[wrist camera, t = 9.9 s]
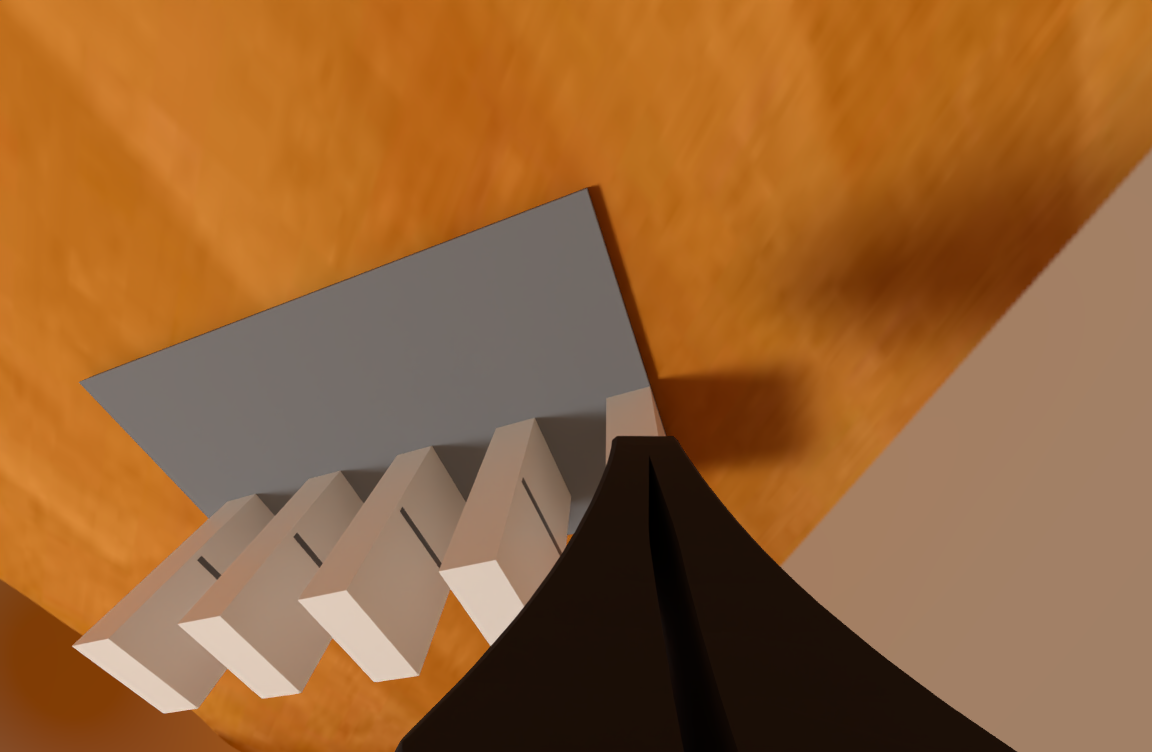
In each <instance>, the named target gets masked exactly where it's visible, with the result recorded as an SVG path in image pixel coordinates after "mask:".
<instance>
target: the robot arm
mask: <svg viewBox="0 0 1152 752" xmlns="http://www.w3.org/2000/svg"><path fill="white" fill-rule="evenodd" d="M395 752H1017V751H1015V750H1013V749H1012V748H1011V747H1009V746H1008V745H1006V744H1005V743H1003V742H1002V741H1000V740H999V739H997V738H996V737H995V736H993V735H992V734H990V733H989V732H987V731H986V730H984V729H983V728H981V727H980V726H979V725H977V724H976V723H974V722H972V721H971V720H970V719H968V718H967V717H965V716H964V715H962V714H961V713H960V712H958V711H956V710H955V709H954V708H952V707H951V706H949V705H948V704H947V703H945V702H944V701H942V700H941V699H940V698H938V697H937V696H935V695H934V694H933V693H931V692H930V691H929V690H927V689H926V688H925V687H923V686H922V685H921V684H919V683H918V682H917V681H915V680H914V679H913V678H911V677H910V676H909V675H907V674H906V673H904V672H903V671H902V670H901V669H899V668H898V667H897V666H895V665H894V664H893V663H891V662H890V661H889V660H887V659H886V658H885V657H884V656H882V655H881V654H880V653H878V652H877V651H876V650H875V649H873V648H872V647H871V646H870V645H869V644H867V643H866V642H865V641H864V640H863V639H861V638H860V637H859V636H858V635H857V634H855V633H854V632H853V631H852V630H850V629H849V628H848V627H847V626H846V625H844V624H843V623H842V622H841V621H840V620H838V619H837V618H836V617H835V616H833V615H832V614H831V613H830V612H829V611H828V610H826V609H825V608H824V607H823V606H822V605H820V604H819V603H818V602H817V601H816V600H815V599H814V598H813V597H812V596H811V595H809V594H808V593H807V592H806V591H805V590H804V589H803V588H802V587H801V586H799V585H798V584H797V583H796V582H795V581H794V580H793V579H792V578H791V577H790V576H789V575H788V574H787V573H786V572H785V571H784V570H783V569H782V568H781V567H780V566H779V565H778V564H777V563H776V562H775V561H774V560H773V559H772V558H771V557H770V556H769V555H768V554H767V553H766V552H765V551H764V550H763V549H762V548H761V547H760V546H759V545H758V544H757V543H756V541H755V540H754V539H753V538H752V537H751V536H750V535H749V534H748V533H747V531H746V530H745V529H744V528H743V527H742V526H741V525H740V524H739V523H738V521H737V520H736V519H735V518H734V517H733V515H732V514H731V513H730V512H729V511H728V510H727V508H726V507H725V506H724V505H723V503H722V502H721V501H720V500H719V498H718V497H717V496H716V494H715V493H714V492H713V491H712V489H711V488H710V487H709V486H708V484H707V483H706V482H705V480H704V479H703V478H702V476H701V475H700V473H699V472H698V471H697V469H696V468H695V466H694V465H693V463H692V462H691V461H690V459H689V458H688V456H687V455H686V453H685V451H684V450H683V448H682V447H681V445H680V443H679V442H678V440H677V439H676V438H675V437H674V436H616V437H615V438H614V439H613V440H612V445H611V450H610V455H609V458H608V461H607V464H606V467H605V470H604V473H603V475H602V478H601V480H600V482H599V485H598V487H597V489H596V492H595V494H594V496H593V498H592V501H591V503H590V505H589V507H588V508H587V510H586V512H585V514H584V516H583V518H582V520H581V522H580V523H579V525H578V527H577V529H576V531H575V533H574V534H573V536H572V538H571V539H570V541H569V543H568V544H567V546H566V548H565V549H564V551H563V552H562V554H561V556H560V557H559V559H558V560H557V562H556V563H555V565H554V566H553V568H552V569H551V571H550V572H549V574H548V575H547V576H546V578H545V579H544V580H543V582H542V583H541V584H540V586H539V587H538V589H537V590H536V591H535V593H534V594H533V595H532V597H531V598H530V600H529V601H528V602H527V603H526V605H525V606H524V607H523V609H522V610H521V611H520V612H519V614H518V615H517V616H516V617H515V619H514V620H513V621H512V622H511V623H510V625H509V626H508V627H507V628H506V629H505V630H504V631H503V633H502V634H501V635H500V636H499V637H498V638H497V640H496V641H495V642H494V643H493V644H492V645H491V647H490V648H489V649H488V650H487V651H486V652H485V653H484V655H483V656H482V657H481V658H480V659H479V660H478V662H477V663H476V664H475V665H474V666H473V667H472V668H471V669H470V670H469V671H468V672H467V674H466V675H465V676H464V677H463V678H462V679H461V680H460V681H459V682H458V683H457V684H456V685H455V686H454V687H453V688H452V689H451V690H450V691H449V692H448V693H447V694H446V695H445V696H444V697H443V698H442V699H441V700H440V701H439V702H438V703H437V704H436V705H435V706H434V707H433V708H432V709H431V710H430V711H429V712H428V713H427V714H426V715H425V716H424V717H423V718H422V719H421V720H420V721H419V722H418V723H417V724H416V725H415V726H414V727H413V728H412V729H411V730H410V731H409V732H408V733H407V734H406V735H405V736H404V737H403V739H402V740H401V741H400V743H399V745H398V747H397V748H396V750H395Z"/></svg>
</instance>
